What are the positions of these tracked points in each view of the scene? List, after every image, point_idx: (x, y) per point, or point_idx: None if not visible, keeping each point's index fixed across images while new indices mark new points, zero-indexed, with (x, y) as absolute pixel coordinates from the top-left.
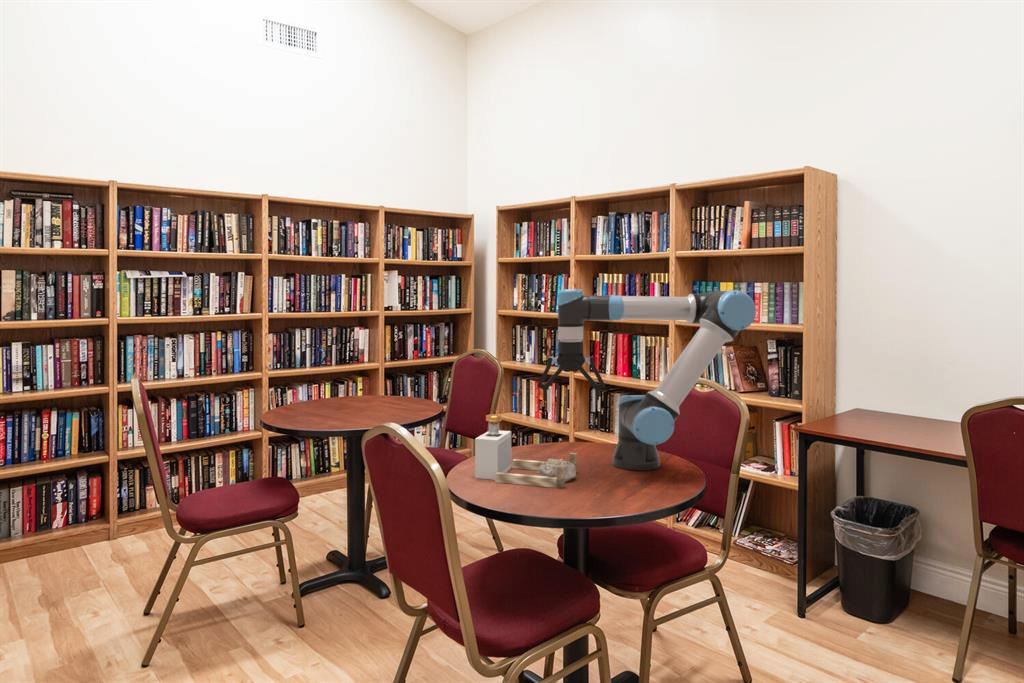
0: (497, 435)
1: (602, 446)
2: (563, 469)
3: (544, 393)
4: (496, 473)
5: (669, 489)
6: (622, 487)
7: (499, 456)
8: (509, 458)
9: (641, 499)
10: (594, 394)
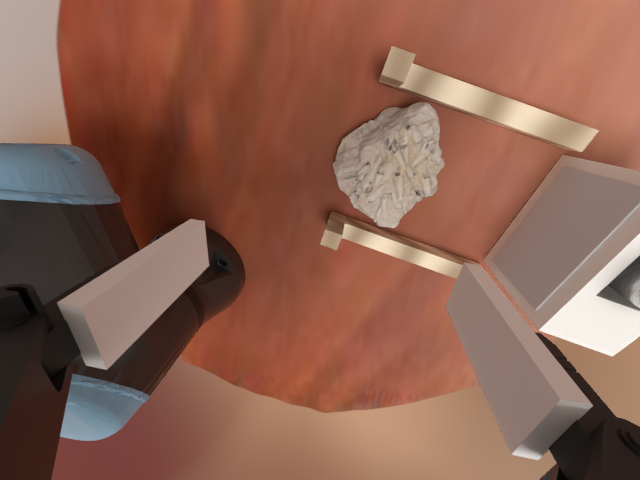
0: (636, 270)
1: (260, 382)
2: (390, 49)
3: (578, 385)
4: (592, 135)
5: (116, 60)
6: (226, 77)
7: (600, 185)
8: (506, 262)
9: None
10: (102, 277)
